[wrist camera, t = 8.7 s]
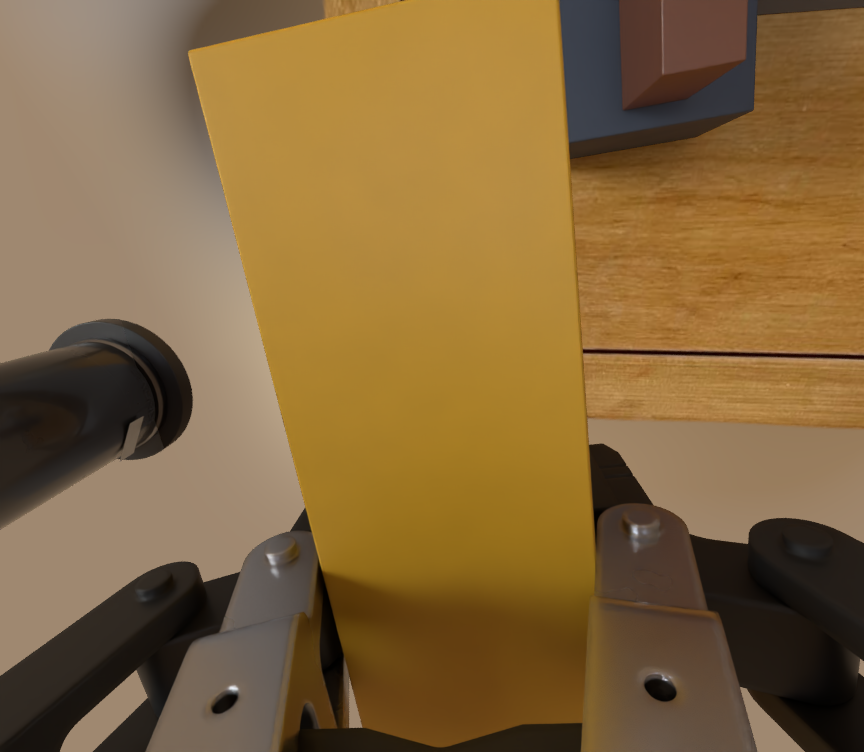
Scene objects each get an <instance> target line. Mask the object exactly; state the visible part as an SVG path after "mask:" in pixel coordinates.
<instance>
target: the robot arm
mask: <svg viewBox="0 0 864 752" xmlns="http://www.w3.org/2000/svg"><path fill="white" fill-rule="evenodd" d="M166 414H167V396H166V392H165V388H164V385H163V383H162V380H161V378H160V376H159V375H158V373H157V371H156V370H155V368H154V367H153V366H152V365H151V363H150V362H149V361H148V360H147V359H146V358H145V357H144V356H143V355H142V354H140V353H139V352H138V351H136V350H135V349H133V348H132V347H130V346H128V345H126V344H124V343H122V342H119V341H116V340H112V339H107V338H92V339H87V340H83V341H79V342H76V343H73V344H71V345H69V346H65V347H62V348H58V349H54V350H50V351H46V352H42V353H38V354H34V355H31V356H26V357H23V358H19V359H15V360H11V361H8V362H4V363H0V530H1V529H2V528H4V527H6V526H7V525H9V524H10V523H12V522H14V521H15V520H17V519H19V518H20V517H22V516H23V515H25V514H27V513H28V512H30V511H32V510H33V509H35V508H37V507H38V506H40V505H42V504H43V503H45V502H46V501H48V500H50V499H51V498H53V497H55V496H56V495H58V494H60V493H61V492H63V491H64V490H66V489H68V488H69V487H71V486H73V485H74V484H76V483H77V482H79V481H81V480H82V479H84V478H86V477H87V476H89V475H91V474H92V473H94V472H95V471H97V470H99V469H100V468H102V467H104V466H105V465H107V464H108V463H110V462H112V461H114V460H115V459H117V458H119V457H120V456H121V459H120V461H122V460H124V459H125V458H127V457H128V456H130V455H131V454H133V453H134V450H135V448H137V447H139V446H141V445H142V444H144V443H146V442H147V441H149V440H150V439H152V438H153V437H154V436H155V435H156V434H157V433H158V432H159V431H160V429H161V428H162V426H163V424H164V421H165V418H166ZM589 453H590V468H591V483H592V498H593V513H594V528H595V543H596V564H595V586H594V595H591V596H590V602H589V617H588V635H587V652H586V670H585V688H584V706H583V723H556V724H522V725H518V726H515V727H512V728H508V729H505V730H502V731H498V732H495V733H492V734H488V735H485V736H482V737H478V738H475V739H471V740H468V741H465V742H461V743H458V744H455V745H451V746H447V747H433V746H429V745H426V744H422V743H418V742H415V741H411V740H408V739H404V738H400V737H397V736H393V735H390V734H386V733H382V732H379V731H375V730H372V729H368V728H349V673H348V669H347V665H346V662H345V658H344V654H343V650H342V646H341V642H340V638H339V635H338V631H337V627H336V623H335V619H334V615H333V611H332V608H331V604H330V600H329V596H328V592H327V588H326V584H325V581H324V577H323V573H322V569H321V565H320V561H319V557H318V554H317V550H316V546H315V542H314V538H313V534H312V530H311V527H310V523H309V519H308V515H307V511H306V507H305V509H304V510H303V512H302V513H301V515H300V517H299V518H298V520H297V521H296V523H295V524H294V526H293V527H292V529H291V531H290V532H286V533H282V534H279V535H276V536H274V537H272V538H269V539H267V540H266V541H264V542H262V543H261V544H259V545H258V546H257V547H255V549H253V550H252V551H251V552H250V553H249V554H248V556H247V557H246V559H245V561H244V563H243V566H242V569H241V572H238V573H235V574H231V575H228V576H224V577H221V578H217V579H214V580H211V581H207V582H203V580H202V578H201V575H200V572H199V569H198V567H197V565H195V564H194V563H191V562H174V563H170V564H166V565H163V566H160V567H157V568H155V569H153V570H151V571H148V572H146V573H145V574H143V575H141V576H140V577H138V578H136V579H135V580H133V581H132V582H130V583H129V584H128V585H126V586H125V587H123V588H122V589H121V590H119V591H118V592H116V593H115V594H114V595H112V596H111V597H109V598H108V599H107V600H105V601H104V602H103V603H101V604H100V605H98V606H97V607H96V608H94V609H93V610H91V611H90V612H89V613H87V614H86V615H85V616H83V617H82V618H80V619H79V620H78V621H76V622H75V623H73V624H72V625H71V626H69V627H68V628H67V629H65V630H64V631H62V632H61V633H59V634H58V635H57V636H55V637H54V638H53V639H51V640H50V641H48V642H47V643H46V644H44V645H43V646H42V647H40V648H39V649H38V650H36V651H35V652H33V653H32V654H30V655H29V656H28V657H26V658H25V659H23V660H22V661H21V662H19V663H18V664H17V665H15V666H14V667H12V668H11V669H10V670H8V671H7V672H5V673H4V674H3V675H1V676H0V752H60V749H61V746H62V744H63V742H64V740H65V738H66V736H67V735H68V733H69V732H70V730H71V729H72V728H73V727H74V725H75V724H77V723H78V721H80V720H81V719H82V718H83V717H84V716H85V715H86V714H87V713H88V712H90V711H91V710H92V709H93V708H94V707H95V706H96V705H97V704H99V702H100V701H102V700H103V699H104V698H105V697H106V696H107V695H108V694H109V693H111V692H112V691H113V690H114V689H115V688H116V687H117V686H118V685H120V684H121V683H122V682H123V681H124V680H125V679H126V678H127V677H128V676H130V675H131V674H132V673H133V672H134V671H135V670H137V672H138V675H139V677H140V680H141V682H142V684H143V687H144V689H145V692H146V694H147V696H148V698H147V699H146V700H145V701H144V702H143V703H142V704H141V705H140V706H139V707H138V708H137V709H136V710H135V711H134V712H133V713H132V714H131V715H130V716H129V717H128V718H127V719H126V720H125V721H124V722H123V723H122V724H121V725H120V726H119V727H118V728H117V729H116V730H115V731H113V733H111V734H110V735H109V736H108V737H107V738H106V739H105V740H104V741H103V742H102V744H100V745H99V746H98V747H97V748H96V749H95V750H94V751H93V752H757V748H756V745H755V741H754V738H753V733H752V730H751V727H750V723H749V719H748V715H747V712H746V708H745V705H744V701H743V697H742V693H741V690H740V687H743V688H747V690H748V692H749V693H750V695H751V696H752V697H753V699H754V700H755V701H756V702H757V703H758V705H759V706H760V707H761V708H762V709H763V710H764V711H765V712H766V713H767V714H768V715H769V716H770V717H771V718H772V719H773V720H774V721H775V722H776V723H777V724H778V725H779V726H780V727H781V728H782V729H783V730H784V731H785V732H786V733H787V734H788V735H789V736H790V737H791V738H792V739H793V740H794V741H795V742H796V743H797V744H798V745H799V746H800V747H801V748H802V749H803V750H804V751H805V752H864V677H863V676H862V675H861V674H859V673H858V671H859V663H860V659H862V660H863V661H864V543H862V542H860V541H858V540H856V539H854V538H853V537H851V536H849V535H847V534H845V533H843V532H841V531H838V530H836V529H834V528H831V527H828V526H825V525H823V524H819V523H815V522H811V521H807V520H800V519H792V518H776V519H768V520H764V521H761V522H759V523H757V524H755V525H754V526H753V527H752V528H751V529H750V532H749V541H748V544H743V543H735V542H726V541H719V540H712V539H706V538H702V537H697V536H694V535H691V534H689V532H688V528H687V526H686V524H685V523H684V521H683V520H682V519H681V518H679V517H678V516H677V515H675V514H674V513H672V512H670V511H668V510H666V509H663V508H661V507H657V506H654V505H653V504H652V502H651V501H650V499H649V498H648V496H647V495H646V493H645V492H644V490H643V489H642V487H641V486H640V484H639V483H638V481H637V480H636V478H635V477H634V476H633V474H632V472H631V471H630V469H629V468H628V466H626V463H625V462H624V460H623V459H622V457H621V456H620V454H619V453H618V452H617V451H615V450H613V449H611V448H610V447H608V446H606V445H604V444H594V445H589Z"/></svg>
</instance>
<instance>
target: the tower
mask: <svg viewBox="0 0 864 752" xmlns="http://www.w3.org/2000/svg"><path fill="white" fill-rule="evenodd" d="M559 3H560V18H561V33H562V48H563V63H564V78H565V93H566V108H567V123H568V138H569V153H570V159H573V158H578V157H584V156H590V155H596V154H601V153H607V152H613V151H619V150H624V149H630V148H636V147H642V146H647V145H653V144H659V143H665V142H670V141H676V140H682V139H688V138H693V137H697V136H699V135H701V134H703V133H705V132H708V131H710V130H712V129H714V128H716V127H718V126H721V125H723V124H725V123H727V122H729V121H731V120H733V119H736V118H738V117H740V116H742V115H744V114H746V113H749V112H751V111H753V109H754V89H755V61H756V34H757V6H758V0H559Z"/></svg>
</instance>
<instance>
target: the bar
mask: <svg viewBox="0 0 864 752" xmlns="http://www.w3.org/2000/svg"><path fill="white" fill-rule="evenodd" d="M188 56H189V60H190V64H191V67H192V71H193V75H194V79H195V83H196V87H197V91H198V95H199V98H200V102H201V106H202V110H203V114H204V118H205V121H206V126H207V129H208V133H209V137H210V141H211V145H212V149H213V153H214V156H215V160H216V164H217V168H218V172H219V176H220V179H221V183H222V187H223V191H224V195H225V199H226V203H227V206H228V210H229V214H230V218H231V222H232V226H233V230H234V233H235V237H236V241H237V245H238V249H239V253H240V256H241V260H242V264H243V268H244V272H245V276H246V280H247V283H248V287H249V291H250V295H251V299H252V303H253V307H254V310H255V314H256V318H257V322H258V326H259V330H260V333H261V337H262V341H263V345H264V349H265V353H266V357H267V361H268V365H269V368H270V372H271V376H272V380H273V384H274V388H275V392H276V395H277V399H278V403H279V407H280V411H281V415H282V419H283V422H284V426H285V430H286V434H287V438H288V442H289V446H290V449H291V453H292V457H293V461H294V465H295V469H296V473H297V476H298V480H299V484H300V488H301V492H302V496H303V500H304V503H305V507H306V511H307V515H308V519H309V523H310V527H311V530H312V534H313V538H314V542H315V546H316V550H317V554H318V557H319V561H320V565H321V569H322V573H323V577H324V581H325V584H326V588H327V592H328V596H329V600H330V604H331V608H332V611H333V615H334V619H335V623H336V627H337V631H338V635H339V638H340V642H341V646H342V650H343V654H344V658H345V662H346V665H347V669H348V673H349V677H350V681H351V685H352V689H353V692H354V696H355V700H356V704H357V708H358V711H359V716H360V719H361V723H362V727H363V728H368V729H372V730H375V731H379V732H382V733H386V734H390V735H393V736H397V737H400V738H404V739H408V740H411V741H415V742H418V743H422V744H426V745H429V746H433V747H447V746H451V745H455V744H458V743H461V742H465V741H468V740H471V739H475V738H478V737H482V736H485V735H488V734H492V733H495V732H498V731H502V730H505V729H508V728H512V727H515V726H518V725H522V724H556V723H583V706H584V688H585V670H586V652H587V635H588V617H589V602H590V596H591V595H594V586H595V564H596V543H595V528H594V513H593V498H592V483H591V468H590V453H589V438H588V423H587V408H586V393H585V378H584V363H583V348H582V333H581V318H580V303H579V288H578V273H577V258H576V243H575V228H574V213H573V198H572V183H571V168H570V153H569V138H568V123H567V108H566V93H565V78H564V63H563V48H562V33H561V18H560V3H559V0H405V1H400V2H396V3H392V4H387V5H383V6H379V7H374V8H370V9H366V10H362V11H357V12H353V13H349V14H344V15H340V16H336V17H331V18H327V19H323V20H319V21H314V22H310V23H306V24H301V25H297V26H293V27H289V28H285V29H280V30H276V31H271V32H267V33H263V34H258V35H254V36H250V37H245V38H241V39H237V40H233V41H229V42H224V43H220V44H216V45H212V46H207V47H202V48H198V49H194V50H190V51H189V52H188Z"/></svg>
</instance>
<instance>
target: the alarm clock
mask: <svg viewBox="0 0 864 752" xmlns="http://www.w3.org/2000/svg"><path fill="white" fill-rule="evenodd" d="M855 7H864V0H758V6H757V15H761V14H774V13H788V12H801V11H815V10H828V9H842V8H855Z"/></svg>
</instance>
